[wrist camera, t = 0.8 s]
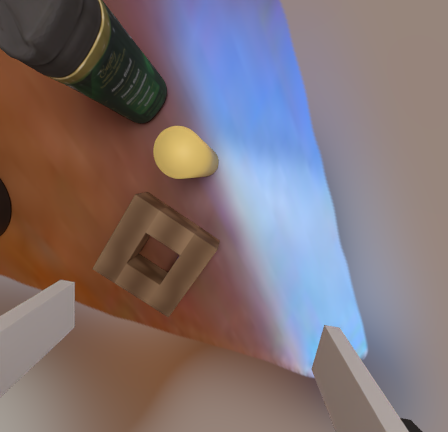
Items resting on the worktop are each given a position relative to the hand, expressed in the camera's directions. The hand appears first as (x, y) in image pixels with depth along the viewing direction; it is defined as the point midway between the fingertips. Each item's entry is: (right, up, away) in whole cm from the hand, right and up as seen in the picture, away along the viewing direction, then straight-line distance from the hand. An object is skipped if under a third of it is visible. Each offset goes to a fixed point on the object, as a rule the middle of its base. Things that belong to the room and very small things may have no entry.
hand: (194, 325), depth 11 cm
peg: (-1, +14, +21) cm, 25 cm away
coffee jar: (-11, +24, +20) cm, 33 cm away
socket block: (-9, 0, +24) cm, 26 cm away
